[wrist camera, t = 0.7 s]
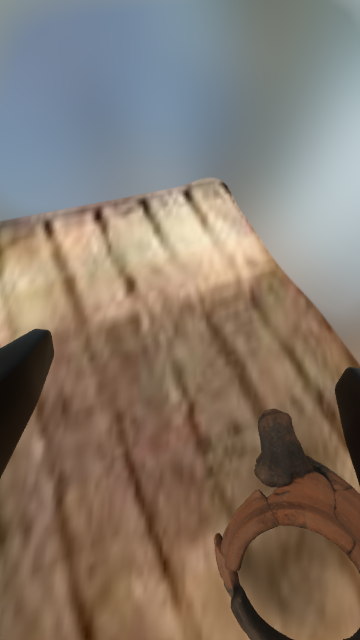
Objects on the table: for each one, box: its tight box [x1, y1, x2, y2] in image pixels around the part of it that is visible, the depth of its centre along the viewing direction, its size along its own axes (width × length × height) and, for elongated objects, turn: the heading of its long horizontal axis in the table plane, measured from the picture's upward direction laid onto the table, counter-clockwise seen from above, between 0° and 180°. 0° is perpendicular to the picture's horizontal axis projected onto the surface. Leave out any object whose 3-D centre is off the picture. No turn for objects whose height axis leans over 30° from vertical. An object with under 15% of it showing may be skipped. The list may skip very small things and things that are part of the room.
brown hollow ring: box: [214, 409, 360, 640], centre depth 18 cm, size 12×10×8 cm
